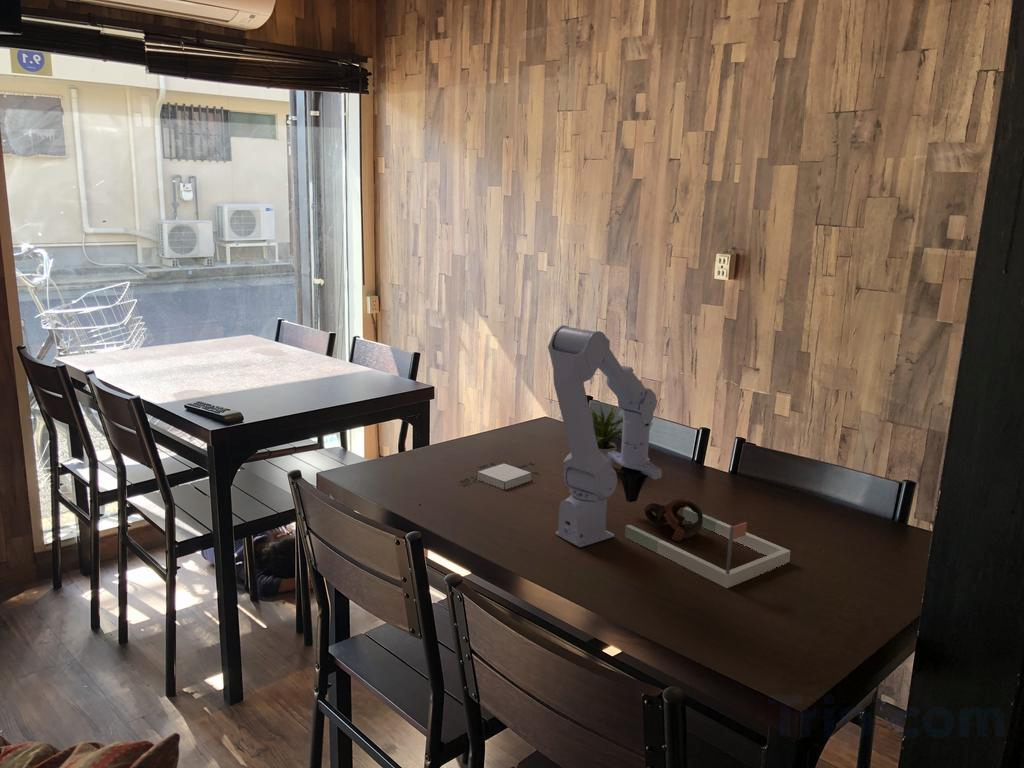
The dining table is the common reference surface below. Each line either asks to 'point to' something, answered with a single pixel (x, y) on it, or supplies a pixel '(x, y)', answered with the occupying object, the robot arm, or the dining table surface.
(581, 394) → the robot arm
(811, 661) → the dining table surface
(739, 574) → the open rectangular rail frame
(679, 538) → the brown piece
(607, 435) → the house plant
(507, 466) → the container
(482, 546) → the dining table surface
